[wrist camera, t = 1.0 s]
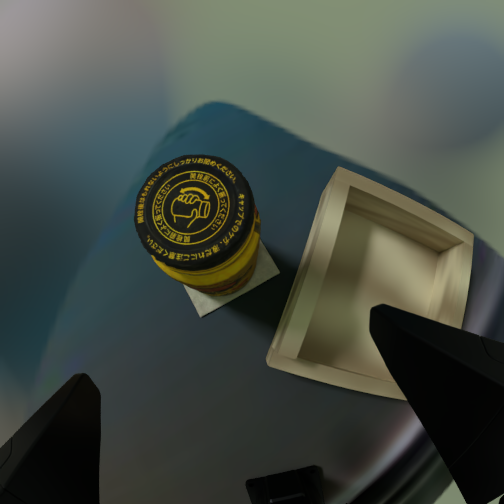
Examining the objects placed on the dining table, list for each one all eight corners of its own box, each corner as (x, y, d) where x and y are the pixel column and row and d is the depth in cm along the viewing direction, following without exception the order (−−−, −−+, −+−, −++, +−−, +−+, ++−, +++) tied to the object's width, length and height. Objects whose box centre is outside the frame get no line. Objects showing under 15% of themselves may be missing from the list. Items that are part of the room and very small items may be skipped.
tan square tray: (405, 395, 20) (435, 408, 15) (265, 359, 21) (271, 371, 16) (442, 247, 23) (473, 234, 18) (321, 193, 24) (338, 166, 19)
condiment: (200, 317, 22) (151, 318, 10) (156, 228, 23) (89, 157, 11) (279, 273, 22) (315, 227, 11) (230, 189, 24) (218, 91, 12)
